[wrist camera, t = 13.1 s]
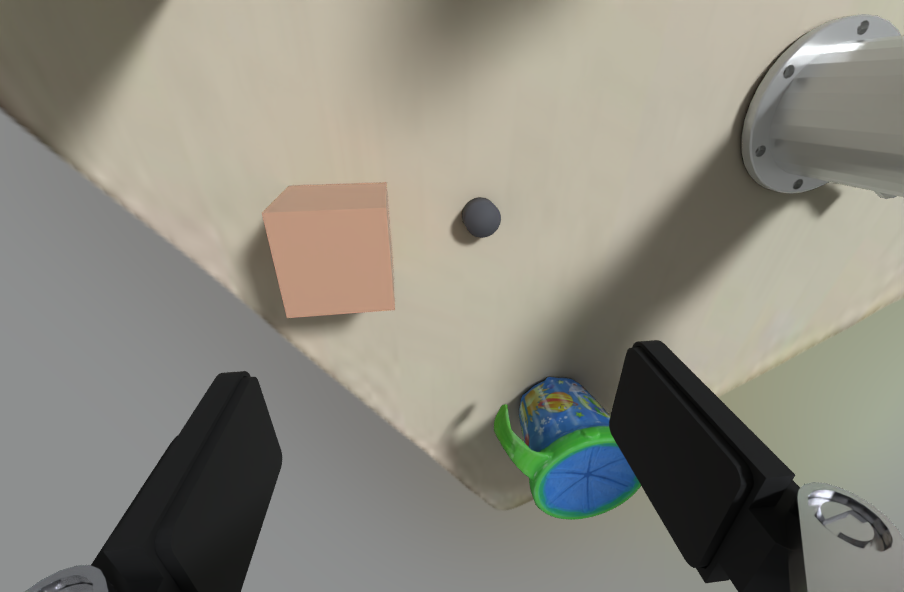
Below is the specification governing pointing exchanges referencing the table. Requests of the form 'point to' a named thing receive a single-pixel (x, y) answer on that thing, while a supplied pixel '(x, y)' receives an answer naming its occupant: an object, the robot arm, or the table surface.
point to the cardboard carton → (332, 248)
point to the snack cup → (567, 451)
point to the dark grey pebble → (481, 217)
